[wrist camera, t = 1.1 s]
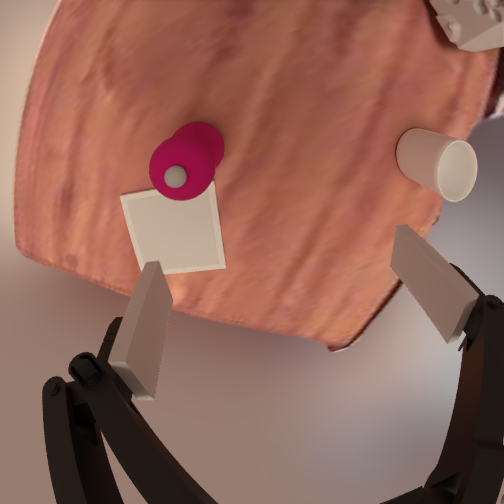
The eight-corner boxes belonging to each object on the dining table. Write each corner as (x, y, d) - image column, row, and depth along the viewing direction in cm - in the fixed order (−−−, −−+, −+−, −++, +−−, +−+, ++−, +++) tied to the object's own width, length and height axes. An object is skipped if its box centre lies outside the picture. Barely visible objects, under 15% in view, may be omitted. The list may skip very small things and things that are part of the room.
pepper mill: (165, 147, 37) (112, 184, 19) (199, 110, 34) (170, 113, 17) (200, 178, 40) (178, 239, 22) (235, 144, 37) (240, 177, 20)
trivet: (122, 194, 39) (119, 196, 38) (214, 179, 40) (213, 181, 39) (144, 273, 47) (142, 276, 46) (226, 264, 47) (226, 268, 46)
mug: (409, 116, 36) (455, 126, 26) (447, 154, 39) (490, 172, 29) (385, 161, 40) (427, 181, 30) (426, 194, 43) (465, 219, 33)
